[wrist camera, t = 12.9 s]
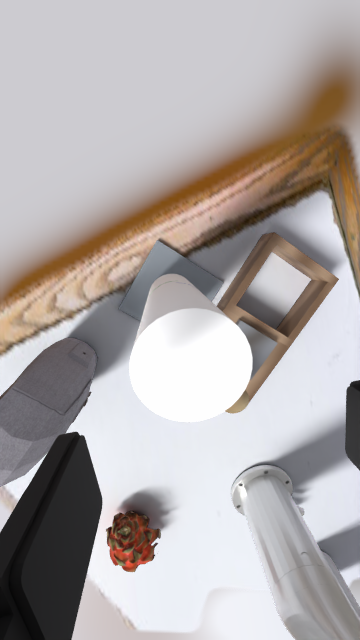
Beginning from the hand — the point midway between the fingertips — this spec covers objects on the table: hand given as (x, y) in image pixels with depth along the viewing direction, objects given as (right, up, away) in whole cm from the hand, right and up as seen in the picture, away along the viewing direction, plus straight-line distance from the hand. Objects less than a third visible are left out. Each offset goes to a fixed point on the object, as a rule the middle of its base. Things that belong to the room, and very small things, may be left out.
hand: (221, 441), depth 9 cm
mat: (-3, +8, +30) cm, 31 cm away
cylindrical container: (-3, +8, +30) cm, 31 cm away
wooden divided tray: (+10, +4, +32) cm, 34 cm away
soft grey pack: (-19, -4, +32) cm, 38 cm away
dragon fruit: (-10, -36, +41) cm, 56 cm away
